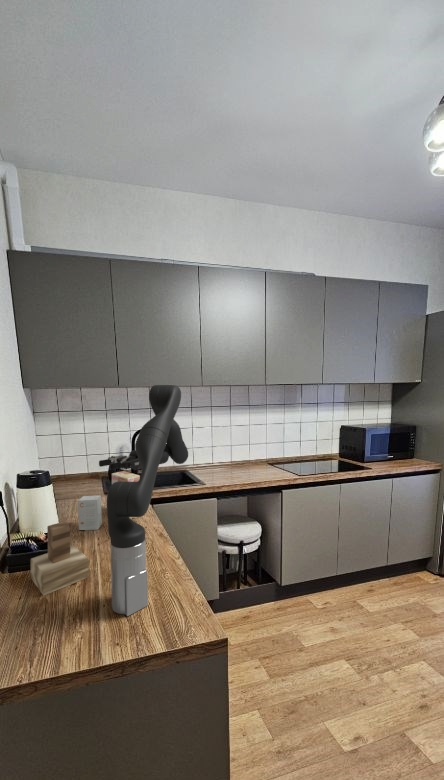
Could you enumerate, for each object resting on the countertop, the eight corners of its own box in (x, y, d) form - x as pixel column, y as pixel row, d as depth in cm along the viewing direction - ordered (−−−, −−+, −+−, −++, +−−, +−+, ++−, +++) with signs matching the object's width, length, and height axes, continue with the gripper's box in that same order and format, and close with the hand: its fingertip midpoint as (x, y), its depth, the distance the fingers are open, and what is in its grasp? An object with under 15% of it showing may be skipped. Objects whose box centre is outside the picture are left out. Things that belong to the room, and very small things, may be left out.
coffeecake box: (141, 516, 154) (140, 475, 154) (127, 521, 148) (126, 478, 149) (124, 509, 164) (124, 470, 164) (111, 513, 159) (110, 473, 159)
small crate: (70, 557, 103) (69, 525, 104) (53, 563, 100) (52, 530, 100) (64, 552, 107) (64, 521, 107) (47, 557, 104) (47, 525, 104)
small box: (101, 524, 146) (101, 494, 146) (98, 530, 139) (97, 499, 140) (83, 525, 145) (82, 495, 145) (78, 531, 139) (77, 500, 139)
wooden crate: (90, 577, 103) (89, 557, 103) (43, 596, 94) (43, 574, 94) (74, 562, 113) (73, 544, 113) (30, 578, 103) (30, 558, 103)
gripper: (134, 447, 135) (95, 452, 124) (153, 450, 125) (113, 457, 113) (134, 465, 135) (96, 472, 123) (153, 470, 125) (113, 479, 113)
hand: (104, 465), depth 118 cm, fingers open, 8 cm apart
